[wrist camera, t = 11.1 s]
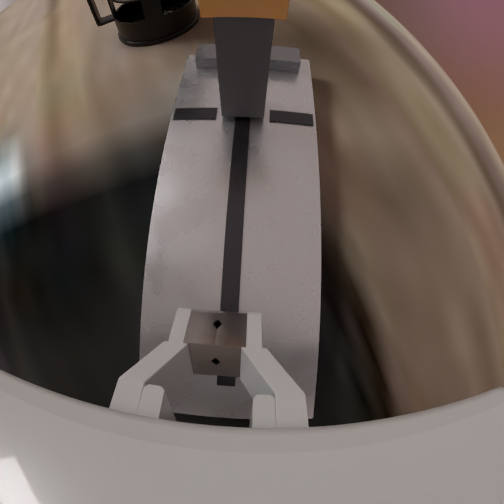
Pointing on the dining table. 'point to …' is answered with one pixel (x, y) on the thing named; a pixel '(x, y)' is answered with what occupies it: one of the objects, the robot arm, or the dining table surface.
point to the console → (239, 225)
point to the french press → (149, 20)
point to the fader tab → (243, 51)
